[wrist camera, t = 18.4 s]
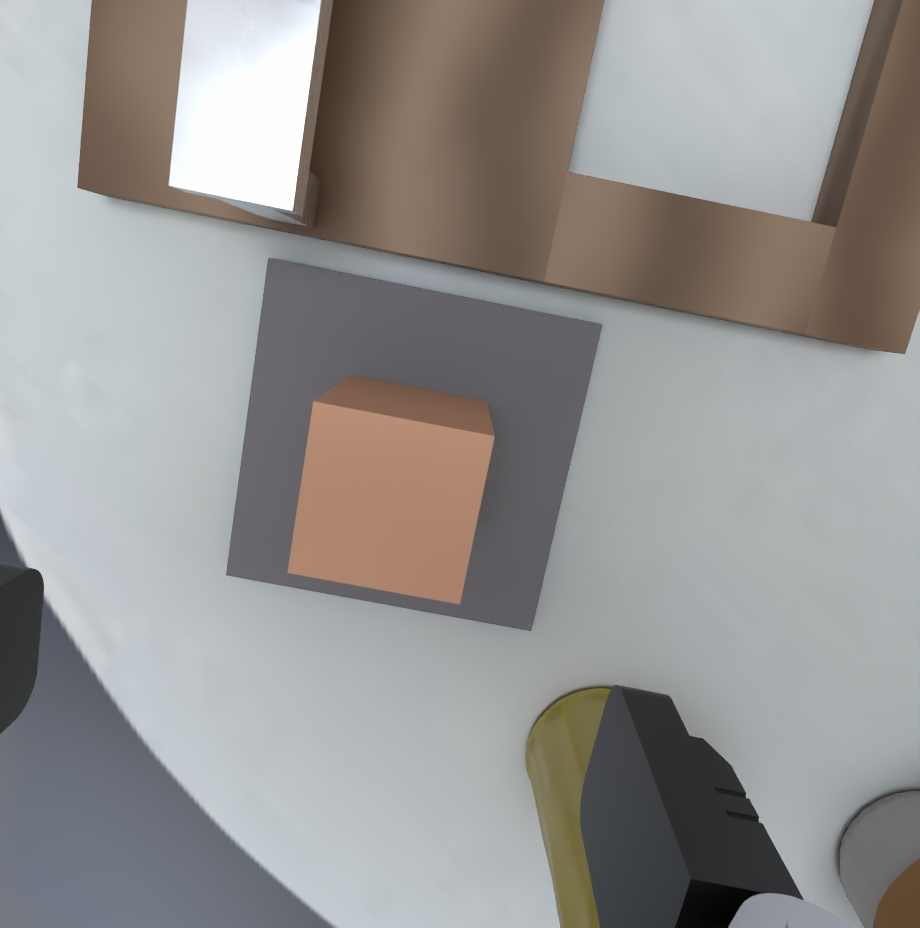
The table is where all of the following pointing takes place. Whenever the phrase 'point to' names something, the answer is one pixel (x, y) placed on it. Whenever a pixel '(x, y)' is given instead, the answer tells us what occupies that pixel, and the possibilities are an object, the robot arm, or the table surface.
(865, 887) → the coffee cup
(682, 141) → the table surface
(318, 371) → the charcoal mat
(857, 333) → the puzzle board
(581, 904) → the vase
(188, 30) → the metal gate
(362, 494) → the terracotta block
